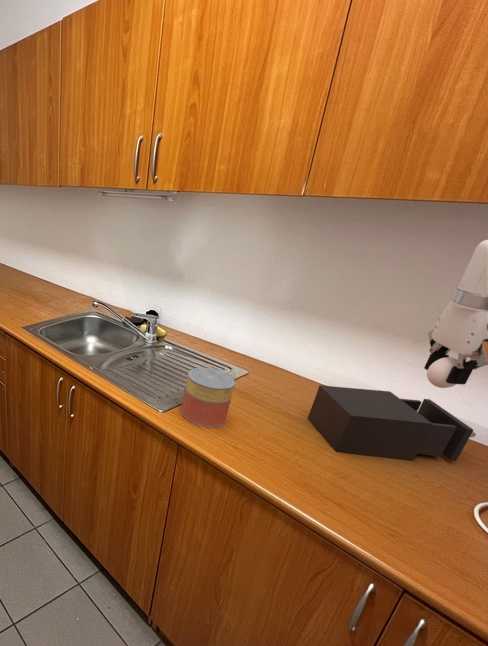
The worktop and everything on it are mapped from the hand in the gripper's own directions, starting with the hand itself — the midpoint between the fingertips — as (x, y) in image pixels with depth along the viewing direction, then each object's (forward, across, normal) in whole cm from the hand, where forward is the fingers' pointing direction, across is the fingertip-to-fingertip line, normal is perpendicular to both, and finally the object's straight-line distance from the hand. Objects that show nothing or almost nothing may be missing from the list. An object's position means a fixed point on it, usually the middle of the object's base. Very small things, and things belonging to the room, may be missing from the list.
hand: (443, 375), depth 89 cm
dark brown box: (+20, +1, +11) cm, 22 cm away
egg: (+3, 0, 0) cm, 3 cm away
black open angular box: (+19, +1, 0) cm, 19 cm away
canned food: (+20, +4, +46) cm, 50 cm away
